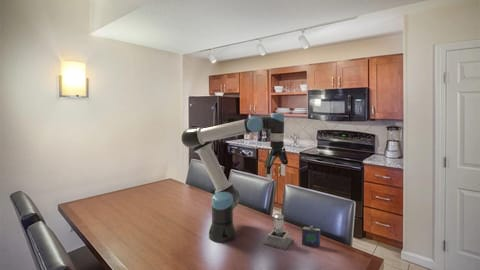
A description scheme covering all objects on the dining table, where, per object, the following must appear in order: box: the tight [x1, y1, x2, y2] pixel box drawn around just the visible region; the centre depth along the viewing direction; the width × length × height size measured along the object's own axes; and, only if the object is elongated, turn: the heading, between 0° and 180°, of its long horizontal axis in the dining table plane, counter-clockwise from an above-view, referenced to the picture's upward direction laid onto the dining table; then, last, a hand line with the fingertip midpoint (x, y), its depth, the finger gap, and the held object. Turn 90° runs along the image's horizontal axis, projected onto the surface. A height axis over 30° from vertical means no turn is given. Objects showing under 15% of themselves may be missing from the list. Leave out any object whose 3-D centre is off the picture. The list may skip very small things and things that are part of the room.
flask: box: [301, 225, 321, 248], centre depth 136 cm, size 9×3×11 cm, turn 77°
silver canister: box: [273, 213, 285, 238], centre depth 139 cm, size 5×5×14 cm
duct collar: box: [263, 228, 294, 251], centre depth 140 cm, size 12×12×5 cm
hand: (276, 177), depth 150 cm, fingers open, 13 cm apart
